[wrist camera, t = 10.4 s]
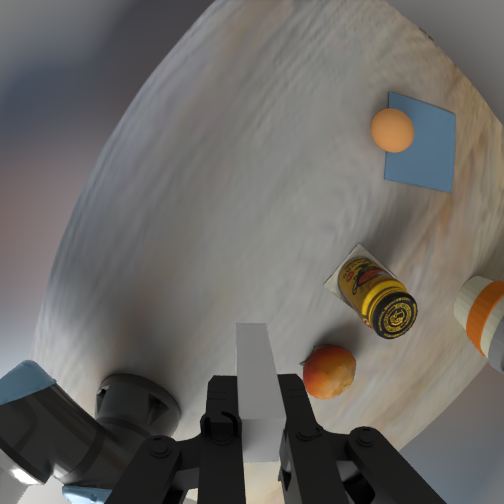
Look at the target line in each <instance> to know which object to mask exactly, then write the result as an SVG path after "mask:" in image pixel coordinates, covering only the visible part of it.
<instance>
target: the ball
mask: <svg viewBox="0 0 504 504" xmlns="http://www.w3.org/2000/svg"><path fill="white" fill-rule="evenodd" d="M371 134H372V137H373V139H374V141H375V143H376V144H377V145H378V146H379V147H380V148H382V149H383V150H385V151H388V152H392V153H397V152H401V151H404V150H406V149H407V148H408V147H409V146H410V145H411V143H412V141H413V139H414V127H413V124H412V122H411V120H410V118H409V117H408V116H407V115H406V114H405V113H403V112H402V111H400V110H397V109H393V108H387V109H383V110H381V111H379V112H378V113H377V114H376V115H375V116H374V118H373V119H372V122H371Z"/></svg>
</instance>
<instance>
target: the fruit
mask: <svg viewBox="0 0 504 504" xmlns="http://www.w3.org/2000/svg"><path fill="white" fill-rule="evenodd" d="M300 365H302V366H304V367H303V380H304V384H305V387H306V389H307V391H308V393H309V394H310V395H312V396H314V397H315V398H319V399H331V398H334V397H336V396H338V395H340V394H341V393H342V392H343V391H345V390H346V389H347V388H349V387H350V385H351V383H352V382H353V379H354V375H355V369H356V360H355V358H354V357H353V356H352V354H351V353H350V352H349V351H347V350H346V349H344V348H342V347H340V346H335V345H330V344H328V345H323V346H319V347H315V346H314V350H313V352H312V354H311V355H310V357H309V358H308V360H307V362H306V363H304V364H300Z"/></svg>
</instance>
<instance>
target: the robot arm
mask: <svg viewBox="0 0 504 504" xmlns="http://www.w3.org/2000/svg"><path fill="white" fill-rule="evenodd" d="M235 371H236V376H217V375H214V376H213V377H212V378H211V380H210V381H209V382H208V390H207V401H206V413H205V414H204V415H203V416H202V417H201V420H200V427H201V433H200V434H199V435H198V436H196V437H194V438H192V439H188V440H183V441H177V442H176V441H175V440H174V439H173V438H171V436H172V435H173V433H174V432H175V431H176V429H177V427H178V423H179V418H180V410H179V407H178V405H177V403H176V401H175V400H174V399H173V397H172V396H171V395H170V394H169V393H168V392H167V391H165V390H164V389H163V388H161V387H160V386H158V385H157V384H155V383H153V382H151V381H149V380H147V379H144V378H142V377H138V376H134V375H129V374H117V375H112V376H110V377H108V378H106V379H105V380H104V381H103V382H102V384H101V386H100V388H99V389H98V391H97V395H96V405H95V419H94V418H93V417H91V416H90V415H89V414H88V413H87V412H86V411H85V410H83V409H82V408H81V407H80V406H79V405H78V404H77V403H76V402H75V401H74V400H73V399H72V398H71V397H70V396H69V395H68V394H67V393H66V392H65V391H64V390H63V389H62V388H61V387H60V386H59V385H58V384H57V383H56V382H57V381H56V380H55V379H52V378H51V377H50V376H49V375H48V374H47V373H46V372H45V371H44V370H43V369H42V368H41V367H40V366H39V365H38V364H37V363H36V362H34V361H32V360H25V361H23V362H21V363H20V364H19V365H17V366H16V367H15V368H14V369H12V370H11V371H10V372H9V373H7V374H6V375H5V376H4V377H2V378H1V379H0V504H17V503H18V501H19V500H20V498H21V497H22V495H23V494H24V492H25V491H26V489H27V488H28V486H30V485H44V484H45V483H46V482H47V480H48V479H49V477H50V476H51V475H52V476H53V477H55V478H56V479H58V480H59V481H60V482H62V483H63V484H64V486H63V487H62V494H63V496H64V497H65V498H67V499H68V501H70V502H71V503H73V504H183V501H184V499H185V497H186V494H187V492H188V490H189V489H195V488H198V499H197V504H246V496H245V482H244V466H243V463H244V462H271V461H278V460H279V455H280V461H281V467H280V471H279V476H278V481H281V483H282V489H283V495H284V501H285V504H447V503H446V502H445V501H444V500H443V499H442V498H441V497H440V496H439V495H438V494H437V493H436V492H435V491H434V490H433V489H432V488H431V487H430V486H429V485H428V484H427V483H426V481H425V480H424V479H423V478H422V477H421V476H420V475H419V474H418V473H417V472H416V471H415V470H414V469H413V468H412V467H411V466H410V464H409V463H408V462H407V461H406V460H405V459H404V458H403V457H402V456H401V455H400V454H399V452H398V451H397V450H396V449H395V448H394V447H393V446H392V445H391V444H390V443H389V441H388V440H387V439H386V438H385V437H384V436H383V435H382V434H381V433H380V432H379V431H378V430H376V429H374V428H371V427H365V426H362V427H358V428H355V429H354V430H352V431H351V432H350V434H349V435H348V434H337V433H331V432H328V431H326V430H324V429H323V427H322V426H320V425H319V424H318V423H317V422H316V419H315V416H314V413H313V410H312V407H311V404H310V401H309V398H308V395H307V392H306V390H305V386H304V383H303V380H302V379H301V378H300V377H299V376H298V375H297V374H277V373H276V368H275V364H274V359H273V355H272V350H271V346H270V341H269V337H268V332H267V327H266V323H236V354H235Z"/></svg>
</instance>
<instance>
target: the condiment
mask: <svg viewBox="0 0 504 504" xmlns="http://www.w3.org/2000/svg"><path fill="white" fill-rule="evenodd" d="M323 286H324V287H326V288H327V289H328V290H330V291H331V292H332V293H334V294H335V295H336V296H337V297H339V298H340V299H341V300H343V301H344V302H345V303H346V304H347V305H349V306H350V307H351V308H353V309H354V310H355V311H356V312H357V313H358V315H359V316H360V318H361V319H362V320H363V322H364V323H365V324H366V325H367V326H369V327H370V328H372V329H374V330H375V332H376V333H377V334H378V335H379V336H381V337H383V338H385V339H394V338H397V337H399V336H401V335H403V334H405V333H406V332H407V331H408V330H409V329H410V328H411V327H412V325H413V323H414V322H415V320H416V316H417V312H418V310H417V303H416V302H415V300H414V298H413V297H412V296H411V295H409V293H408V292H407V290H406V288H405V286H404V285H403V284H402V283H401V282H399V281H398V280H397V279H396V278H395V277H394V276H393V275H392V274H391V273H390V272H389V271H388V270H387V269H386V268H385V267H384V266H383V265H382V264H381V263H380V262H379V261H378V260H377V259H376V258H375V257H374V256H372V255H371V254H370V253H369V252H368V251H367V250H366V249H365V248H364V247H363V246H362V245H361V244H360V243H358V245H357V246H356V247H355V248H354V249H353V250H352V252H351V253H350V254H349V255H348V256H347V258H346V259H345V260H344V261H343V262H342V263H341V265H340V266H339V267H338V268H337V270H336V271H335V272H334V273H333V275H332V276H331V277H330V278H329V279H328V281H327V282H326V283H325V284H324V285H323Z"/></svg>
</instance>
